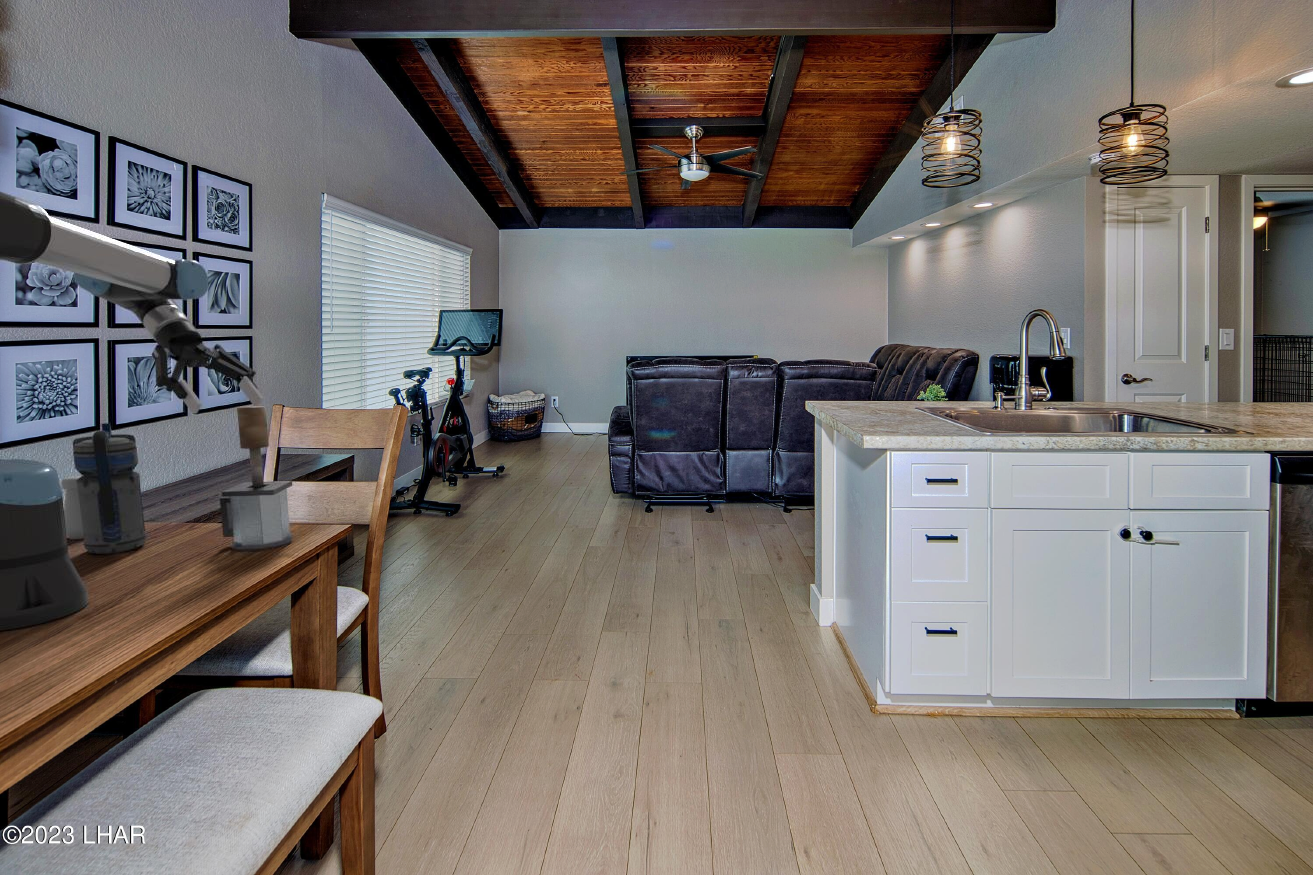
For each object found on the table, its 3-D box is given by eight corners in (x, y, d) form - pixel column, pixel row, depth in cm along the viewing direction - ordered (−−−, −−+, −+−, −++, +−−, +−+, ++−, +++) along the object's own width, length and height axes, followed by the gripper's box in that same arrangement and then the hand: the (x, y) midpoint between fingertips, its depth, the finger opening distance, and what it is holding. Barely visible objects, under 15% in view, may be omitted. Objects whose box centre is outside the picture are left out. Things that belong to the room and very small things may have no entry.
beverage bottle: (79, 562, 139) (63, 431, 135) (89, 545, 150) (75, 424, 147) (144, 553, 144) (130, 427, 140) (149, 538, 155) (136, 421, 152)
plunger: (239, 488, 145) (232, 408, 143) (250, 484, 150) (243, 406, 148) (266, 488, 146) (259, 408, 144) (276, 483, 151) (269, 405, 149)
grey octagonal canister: (213, 552, 144) (208, 492, 142) (239, 537, 154) (234, 482, 153) (280, 550, 145) (275, 490, 143) (301, 535, 156) (296, 480, 154)
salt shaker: (83, 532, 161) (76, 474, 159) (104, 533, 159) (98, 474, 158) (56, 539, 155) (49, 479, 153) (78, 540, 154) (71, 479, 152)
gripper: (116, 317, 140) (176, 397, 136) (236, 320, 163) (290, 388, 159) (102, 345, 143) (160, 425, 139) (222, 344, 165) (275, 412, 162)
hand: (230, 405), depth 149 cm, fingers open, 13 cm apart
